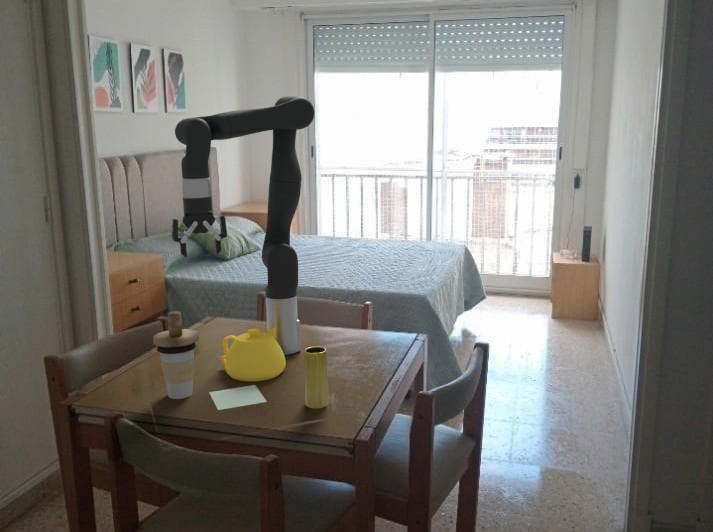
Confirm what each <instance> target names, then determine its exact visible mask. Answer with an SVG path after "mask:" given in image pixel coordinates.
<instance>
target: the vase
mask: <svg viewBox="0 0 713 532" xmlns="http://www.w3.org/2000/svg"><path fill="white" fill-rule="evenodd" d="M303 353H304V406H305V407H307V408H310V409H323V408H325V407H328V406H329V405H330V393H329V383H328V381H329V380H328V367H327V366H328V364H327V361H328V360H327V349H326V348H325V347H323V346H318V345H317V346H309V347H307V348H305V349H304V352H303Z"/></svg>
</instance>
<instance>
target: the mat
mask: <svg viewBox="0 0 713 532" xmlns="http://www.w3.org/2000/svg"><path fill="white" fill-rule="evenodd" d="M208 394H209V395H210V397H211V399H212V401H213V403H214V405H215V407H216V409H217V411H222V410H228V409H234V408H238V407H239V408H240V407H244V406H250V405H257V404H262V403H268V401H267V400H266V398H265V397H264V396H263V394H262V392H261V391H260V390H259V388H258V387H257V386H256V384H253V385H252V384H251V385H247V386H240V387H233V388H228V389H222V390H216V391H209V392H208Z"/></svg>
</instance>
